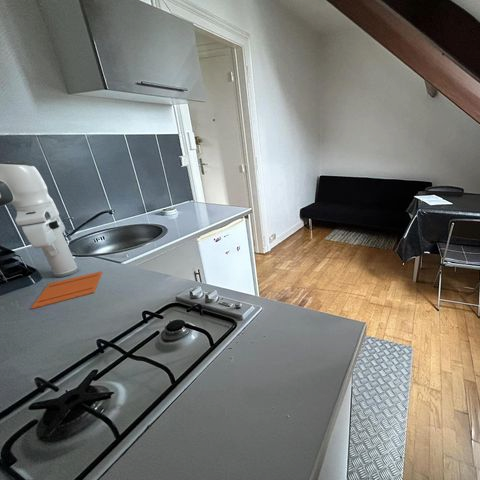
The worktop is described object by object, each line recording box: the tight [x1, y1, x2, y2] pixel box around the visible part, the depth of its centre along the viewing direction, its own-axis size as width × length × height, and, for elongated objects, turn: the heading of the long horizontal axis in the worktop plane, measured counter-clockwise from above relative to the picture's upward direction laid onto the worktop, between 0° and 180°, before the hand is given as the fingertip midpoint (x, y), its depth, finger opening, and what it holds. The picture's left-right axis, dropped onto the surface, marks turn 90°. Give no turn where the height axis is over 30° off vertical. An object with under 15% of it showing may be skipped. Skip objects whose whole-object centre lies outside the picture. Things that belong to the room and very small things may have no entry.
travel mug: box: [41, 220, 79, 278], centre depth 89 cm, size 6×7×20 cm
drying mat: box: [30, 270, 103, 310], centre depth 82 cm, size 14×16×1 cm
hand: (58, 251), depth 90 cm, fingers closed on travel mug, 6 cm apart
